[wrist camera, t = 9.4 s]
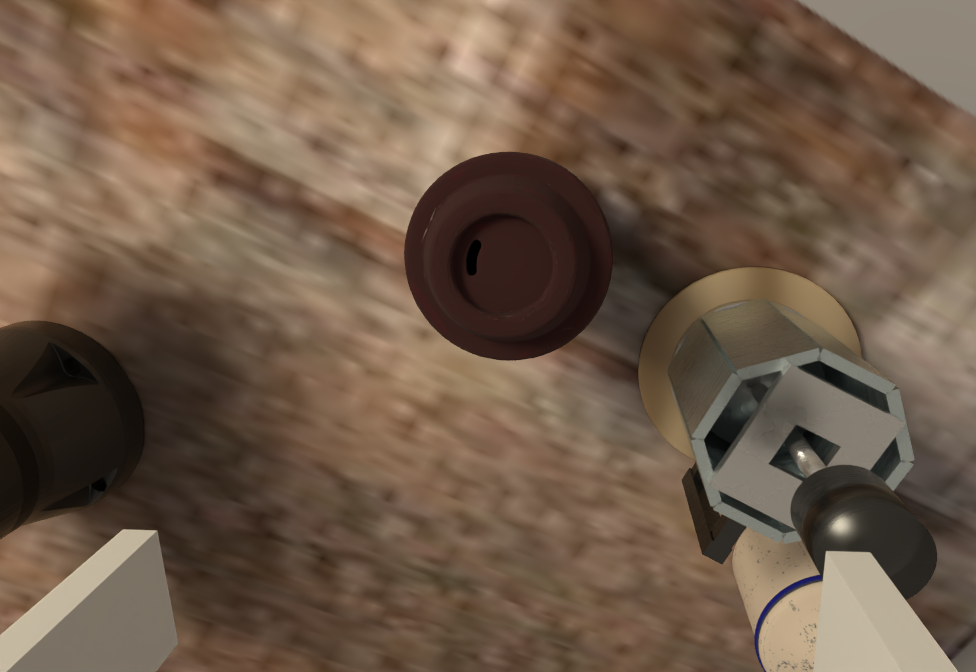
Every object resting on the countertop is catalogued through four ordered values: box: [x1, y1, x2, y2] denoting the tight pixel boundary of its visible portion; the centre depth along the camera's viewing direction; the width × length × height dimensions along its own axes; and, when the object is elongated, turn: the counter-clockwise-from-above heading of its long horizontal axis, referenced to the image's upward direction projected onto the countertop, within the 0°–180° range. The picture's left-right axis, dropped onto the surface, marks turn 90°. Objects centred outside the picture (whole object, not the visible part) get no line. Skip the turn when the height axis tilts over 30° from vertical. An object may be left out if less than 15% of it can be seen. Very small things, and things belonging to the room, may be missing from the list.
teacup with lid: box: [732, 527, 823, 672], centre depth 43 cm, size 12×9×12 cm
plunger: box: [711, 360, 937, 600], centre depth 34 cm, size 8×8×19 cm
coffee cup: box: [404, 152, 613, 360], centre depth 38 cm, size 10×10×15 cm
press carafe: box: [667, 298, 915, 564], centre depth 39 cm, size 10×13×12 cm
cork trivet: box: [638, 267, 862, 460], centre depth 45 cm, size 14×14×1 cm
